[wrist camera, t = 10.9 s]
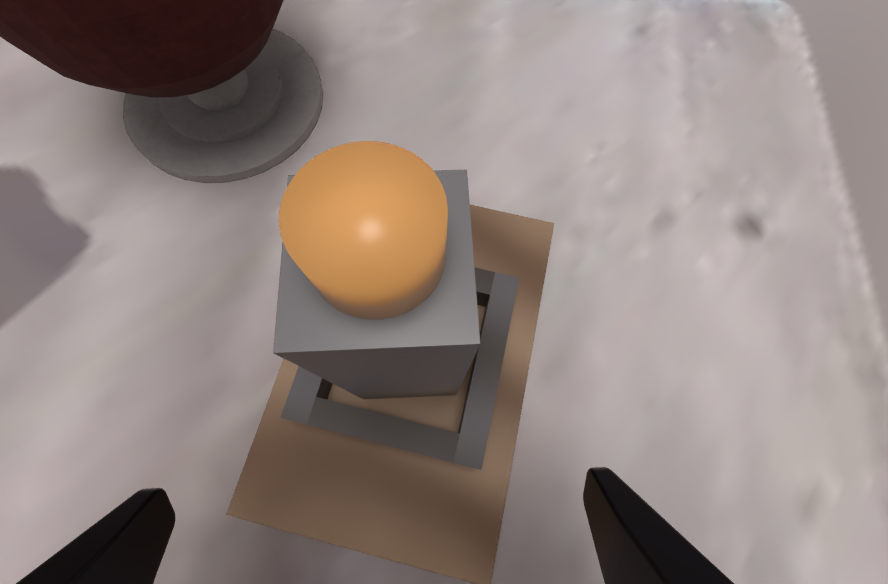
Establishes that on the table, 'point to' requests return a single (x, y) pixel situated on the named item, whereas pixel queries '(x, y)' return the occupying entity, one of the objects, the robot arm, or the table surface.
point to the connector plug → (378, 273)
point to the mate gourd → (183, 76)
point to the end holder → (410, 434)
